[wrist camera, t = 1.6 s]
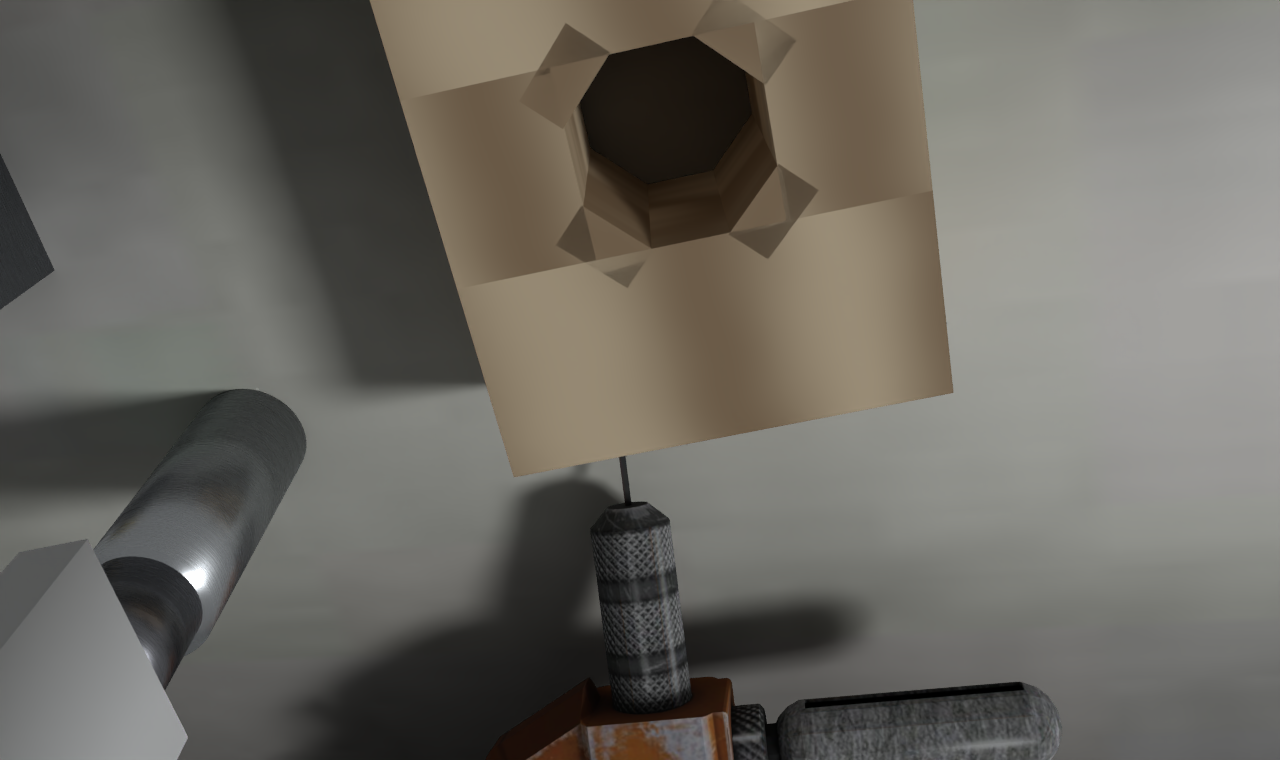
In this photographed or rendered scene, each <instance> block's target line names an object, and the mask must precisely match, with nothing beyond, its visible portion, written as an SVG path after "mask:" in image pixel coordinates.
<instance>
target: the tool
mask: <svg viewBox="0 0 1280 760" xmlns="http://www.w3.org/2000/svg"><path fill="white" fill-rule="evenodd" d="M619 460H620V468H621V475H622V483H623V491H624V499H625V503H622V504H617V505H613V506H610V507H608V508H607V509H606V510H605V511H604V513H603V514H602V515H601V516H600V518H599V519H598V520H597V521H596V523H595V524H594V525H593V526H592V528H591V538H592V546H593V553H594V561H595V569H596V577H597V585H598V592H599V600H600V608H601V616H602V624H603V631H604V639H605V647H606V655H607V663H608V670H609V678H610V685H608V686H603V687H598V688H596V686H595V685H594V683H593V682H592V680H591V679H590V677H589V678H587V679H586V680H584V681H583V682H581V683H580V684H578V685H577V686H575V687H574V688H572V689H571V690H569V691H568V692H566V693H565V694H563V695H562V696H560V697H559V698H557V699H556V700H554V701H553V702H551V703H550V704H548V705H547V706H545V707H544V708H542V709H541V710H539V711H538V712H536V713H535V714H534V715H532V716H531V717H529V718H528V719H526V720H525V721H523V722H522V723H520V724H519V725H517V726H516V727H514V728H513V729H511V730H510V731H508V732H507V733H505V734H504V735H502V736H501V737H500V738H499V739H498V741H497V742H496V744H495V745H494V747H493V748H492V749H491V751H490V752H489V754H488V756H487V757H486V760H1051V759H1052V757H1053V756H1054V755H1055V753H1056V752H1057V750H1058V747H1059V743H1060V740H1061V736H1062V726H1061V721H1060V717H1059V713H1058V710H1057V708H1056V707H1055V705H1054V704H1053V702H1052V701H1051V700H1050V698H1049V697H1048V696H1047V695H1046V694H1045V693H1043V692H1042V691H1041V690H1039V689H1038V688H1037V687H1034V686H1031V685H1028V684H1025V683H1022V682H1009V683H997V684H985V685H973V686H961V687H949V688H936V689H924V690H912V691H900V692H888V693H876V694H864V695H852V696H840V697H828V698H816V699H804V700H798V701H796V702H795V703H793V704H791V705H789V706H788V707H787V708H786V709H785V710H784V711H783V712H782V714H781V715H780V716H779V717H778V720H777V722H776V723H773V724H767V721H766V715H765V710H764V708H763V707H762V706H761V705H760V704H751V705H739V706H735V704H734V696H733V688H732V682H731V680H730V679H728V678H722V679H717V678H715V677H701V678H689V670H688V662H687V654H686V646H685V638H684V630H683V622H682V615H681V607H680V599H679V591H678V583H677V575H676V567H675V559H674V551H673V543H672V536H671V528H670V520H669V518H668V517H666V516H665V515H664V514H662V513H661V512H660V511H658V510H657V509H656V508H654V507H653V506H652V505H650V504H649V503H648V502H631V498H630V490H629V482H628V474H627V466H626V458H625V456H622V457H619Z"/></svg>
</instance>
